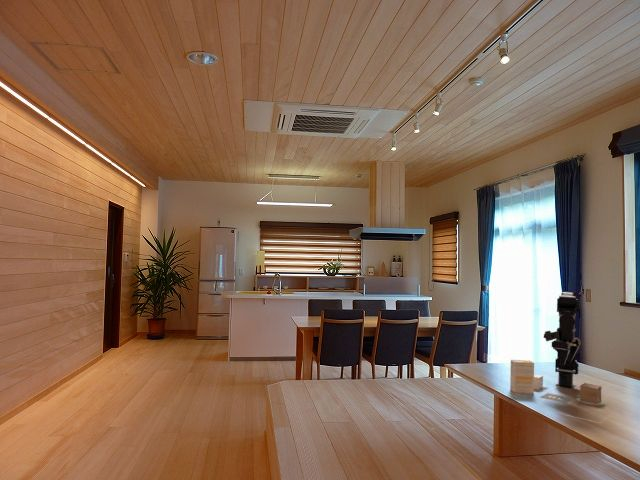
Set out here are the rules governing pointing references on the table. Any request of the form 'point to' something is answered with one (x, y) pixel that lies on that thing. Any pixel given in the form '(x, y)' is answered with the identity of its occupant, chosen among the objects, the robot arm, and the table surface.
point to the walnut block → (590, 393)
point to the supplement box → (522, 376)
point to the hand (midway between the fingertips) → (566, 363)
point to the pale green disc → (591, 403)
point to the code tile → (556, 398)
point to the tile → (542, 389)
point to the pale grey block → (538, 382)
